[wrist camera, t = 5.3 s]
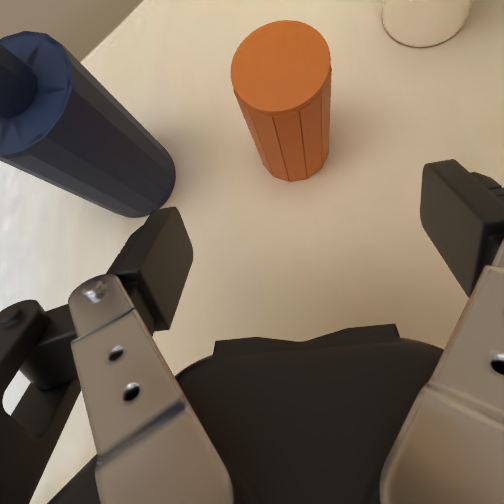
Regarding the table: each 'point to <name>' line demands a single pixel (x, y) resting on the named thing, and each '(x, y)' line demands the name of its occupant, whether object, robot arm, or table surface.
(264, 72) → the grooved orange cylinder
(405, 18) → the silver metal tumbler
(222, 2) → the table surface
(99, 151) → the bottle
